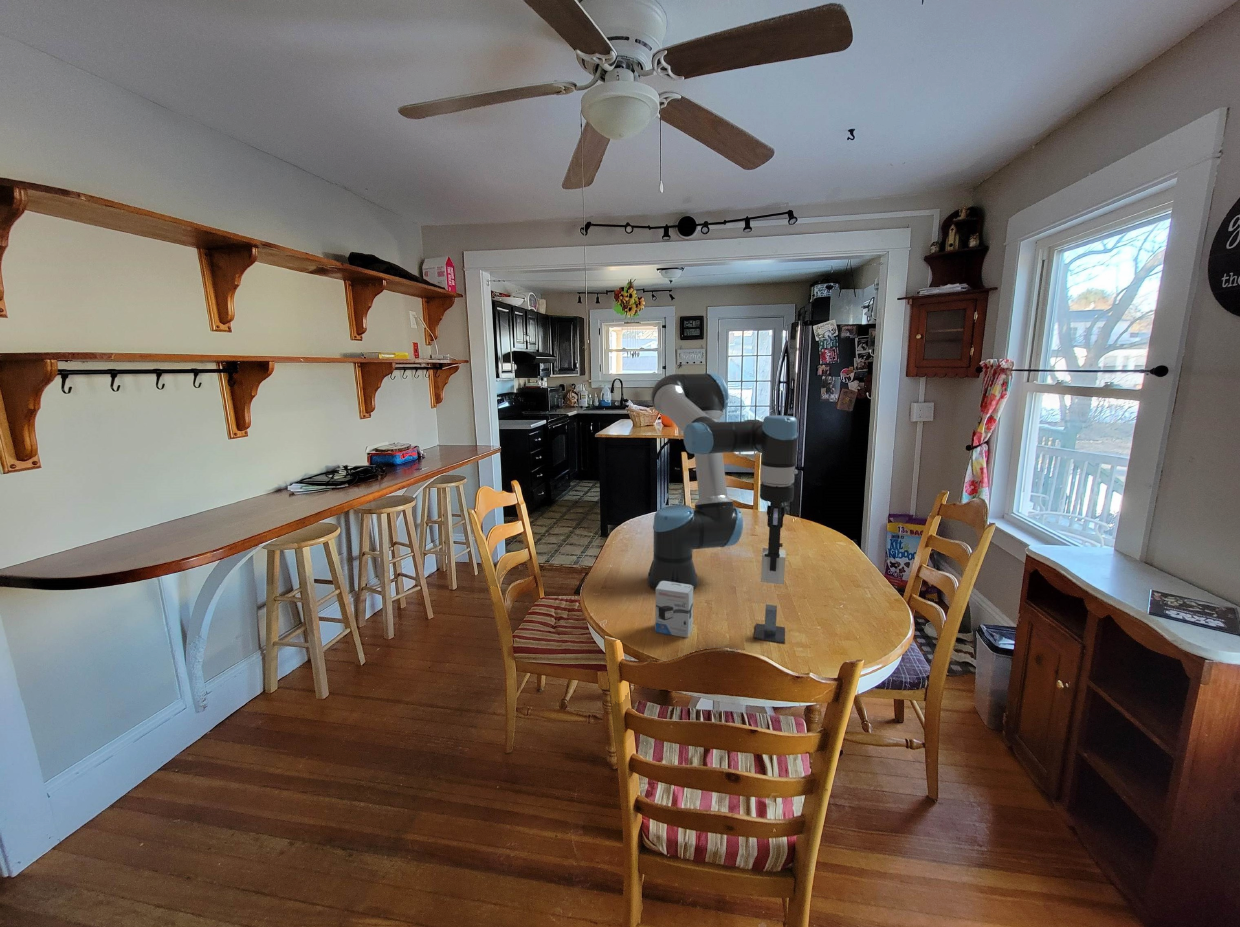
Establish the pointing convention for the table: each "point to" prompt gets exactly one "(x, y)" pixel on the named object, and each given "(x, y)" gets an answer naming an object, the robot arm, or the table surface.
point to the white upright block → (781, 566)
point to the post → (770, 627)
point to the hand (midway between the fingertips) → (772, 577)
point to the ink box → (674, 608)
